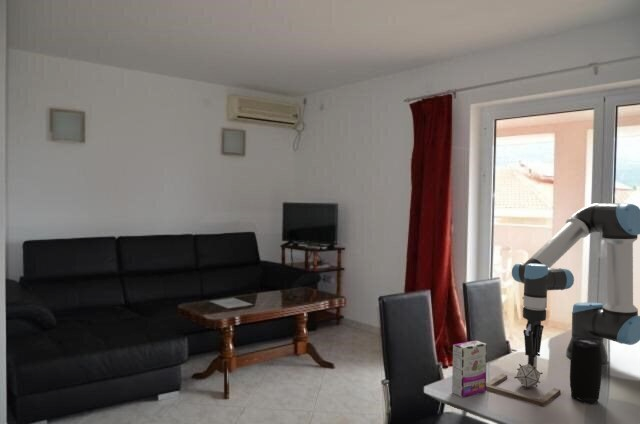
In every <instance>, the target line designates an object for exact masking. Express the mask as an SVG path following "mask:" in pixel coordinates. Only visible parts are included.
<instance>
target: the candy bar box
mask: <svg viewBox="0 0 640 424" xmlns="http://www.w3.org/2000/svg"><path fill="white" fill-rule="evenodd" d="M487 346H488V345H487V343H486V342H483V341H479V340H476V339H475V340H473V341H472V340H471V341H466V342H460V343H455V344H452V374H451V375H452V377H451V378H452V381H451V383H452V384H451V386H452V387H451V391H452V392H451V393H452V394H454V395H456V396H458V397H460V398H462V399H463V398H468V397H472V396H476V395H479V394H483V393H486V392H487V390H486V383H487V353H488V352H487V351H488V350H487V348H488V347H487Z"/></svg>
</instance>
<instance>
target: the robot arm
mask: <svg viewBox="0 0 640 424" xmlns="http://www.w3.org/2000/svg"><path fill="white" fill-rule="evenodd" d="M593 233H601V238H602V239H603V241H605V242H606V294H607V295H606V298H607V299H606V303H605V304H604V303H601V302H576V303H574V304H573V306H572V312H571V337H570V340H569V343H568V345H567V348H566V352H565V355H566V357H567V358H569V359H571V351H572V345H573V341H574V338H575V337H585V338H587V339H591V340H599V341H600V343H601V346H600V348H601V356H602V365H603V364H607V363H608V359H609V358H608V356H609V355H608V352H607V350H606V346H605V343H604V339H606V340H609V341H612V342H616V343H618V344H624V345H628V346H633V345H635V344H637V343H639V342H640V315H639V310H638V308H637V307H636V306H635V305H634V255H633V254H634V248H633V247H634V242H636V241H637V240H638V235H640V207H639V206H637V205H635V204H633V203H624V202H622V203H620V202H619V203H614V202H612V203H608V202H607V203H605V202H603V203H602V202H597V203H592V204H589V205H586V206H584V207H582V208H581V209H578V211H576V212H575V213H574V214H572V215H571V216H569V218H568V219H567V220H566V221H565V225H564V226H562V227H561V229H560V230H558V232H557V233H555V234H553V236H552V237H551V238H550V239H549V240H547V242H546V243H545V244H544V245H542V246H541V247H540V248H539V249H538V250H537V251H536V252H535V253H534V254H533V255H531V257H530V258H529V259H528V260H526V261H525V262H518V263H515V264H514V265H513V267H512V268H511V277H512V278H513V280H515V282H519V283H521V284H524V285H523V288H524V289H523V296H522V298H521V299H522V300H523V302H522V303H523V304H522V305H523V306H524V307H522V318H523V319H524V320H527V322H526V325H525V328H526V329H523V331H522V332H523V337H524V350H525V351H524V355H525V356H527V364H529V362H531V365H532V366H533V367H536V368H535V369H536V370H537V371H538V369H537V367H538V366H537V365H538V364H537V363H538V357H540V356H541V354H540V352H541V345H542V339H543V332H544V324H542V322H544V321H546V320H547V310H546V309H547V305H548V304H547V303H548V291H559V290H560V291H563V290H568V289H570V288H572V287H573V285H574V284H575V283H574V282H575V277H574V275H573V273H572V271H571V270H569V269H567V268H562V267H561V268H553V266H554V265H555V264H556V263H557V262H558V261H559V260H560V259H561V258H562V257H563V256H564V255H565V254H566V253H567V252H568V251H570V249H571V248H573V246H575V244H576V243H578V241H580V240H581V239H582V238H583V239H584V238H586V237H588V236H589V235H590V234H593Z"/></svg>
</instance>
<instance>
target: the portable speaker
mask: <svg viewBox="0 0 640 424" xmlns="http://www.w3.org/2000/svg"><path fill="white" fill-rule="evenodd" d="M600 346H601V343H600V341H599V340H591V339H587V338H585V337H575V338H574V341H573V345H572V351H571V358H570V364H569V387H570V392H571V393H570V394H571V395H570V397H571V399H578V400H580V401H581V402H582V404H583V403H584V404H586V405H594V404H595V405H596V403H597V402H598V400H599V399H600V394H601V393H600V392H601V385H602V372H603V371H602V368H603V367H602V366H603V364H602V356H601V348H600Z"/></svg>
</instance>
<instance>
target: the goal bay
mask: <svg viewBox="0 0 640 424" xmlns="http://www.w3.org/2000/svg"><path fill="white" fill-rule="evenodd" d="M507 379H508V375H507V374H504V373H501V374H499V375H497V376H496V377H494V378H492V379H490V380H488V381H486V391H490V392H492V393H497V394H499V395H503V396H507V397H509V398H513V399H516V400H519V401H522V402H526V403H529V404H532V405H535V406H539V407H545V406H546V405H547V404H549V403H550V402H551V401H553V400H554V399H555V398H556V397H558V396H559V395H560V394H561V389H559V388H556V387H554V388H552V389H551V390H549V391H548V392H547V393H545V394H544V395H543V396H541V397H540V398H536V397H532V396H529V395H525V394H522V393H519V392H515V391H512V390H508V389H505V388H502V387H498V386H497V385H499V384H500V383H502V382H504V381H505V380H507Z"/></svg>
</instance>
